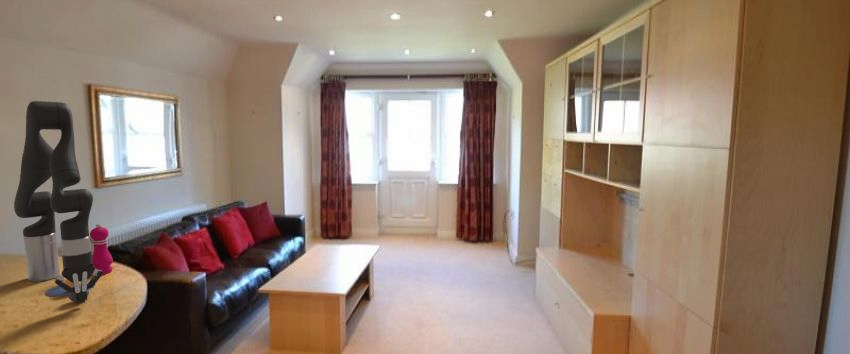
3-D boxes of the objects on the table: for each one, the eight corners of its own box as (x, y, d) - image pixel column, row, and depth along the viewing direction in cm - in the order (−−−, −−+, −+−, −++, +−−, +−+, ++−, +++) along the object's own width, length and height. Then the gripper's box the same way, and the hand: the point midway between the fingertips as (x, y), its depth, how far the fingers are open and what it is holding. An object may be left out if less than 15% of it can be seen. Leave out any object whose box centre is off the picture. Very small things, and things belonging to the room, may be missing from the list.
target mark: (38, 291, 154) (38, 290, 154) (84, 279, 166) (84, 278, 166) (55, 299, 147) (55, 299, 147) (102, 286, 159) (102, 286, 159)
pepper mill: (101, 276, 170) (97, 226, 167) (86, 274, 171) (81, 225, 168) (118, 270, 177) (114, 222, 174) (103, 268, 178) (99, 220, 175)
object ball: (62, 291, 149) (60, 294, 153) (82, 290, 153) (80, 293, 156) (64, 275, 151) (62, 278, 155) (84, 275, 154) (82, 278, 158)
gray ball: (66, 292, 142) (67, 306, 143) (88, 290, 145) (88, 304, 146) (69, 282, 146) (69, 296, 148) (89, 281, 149) (89, 294, 151)
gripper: (99, 244, 147) (103, 293, 150) (48, 252, 138) (53, 304, 140) (104, 249, 142) (108, 299, 145) (51, 258, 133) (57, 312, 135)
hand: (81, 302), depth 142 cm, fingers closed
